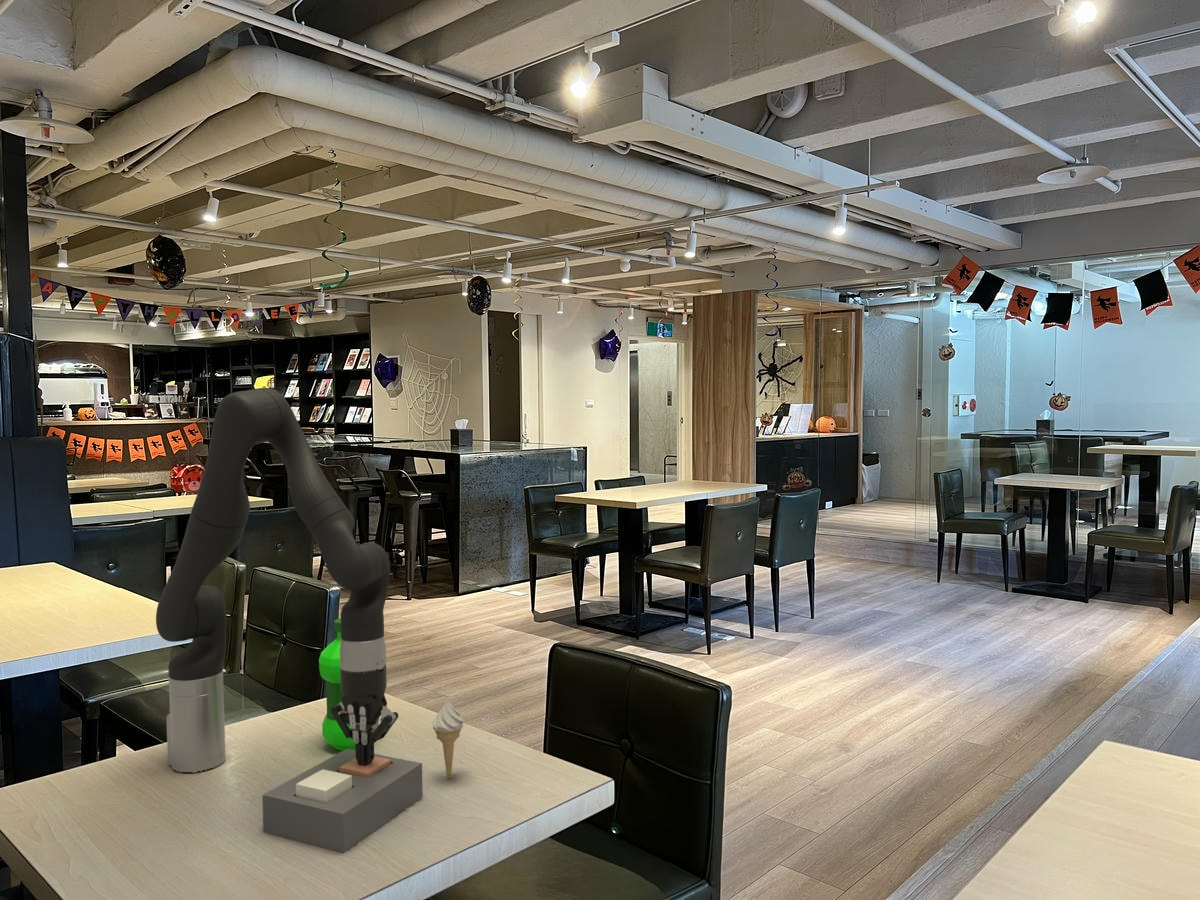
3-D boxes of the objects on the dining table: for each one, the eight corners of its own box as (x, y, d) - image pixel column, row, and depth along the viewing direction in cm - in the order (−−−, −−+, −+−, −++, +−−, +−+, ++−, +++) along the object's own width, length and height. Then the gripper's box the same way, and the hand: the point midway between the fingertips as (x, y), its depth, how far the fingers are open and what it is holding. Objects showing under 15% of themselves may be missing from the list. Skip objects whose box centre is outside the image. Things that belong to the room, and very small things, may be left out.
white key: (296, 802, 137) (295, 784, 137) (322, 787, 143) (322, 769, 143) (326, 809, 135) (325, 790, 135) (352, 793, 140) (351, 775, 140)
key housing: (263, 831, 138) (262, 794, 138) (348, 781, 156) (347, 748, 156) (343, 852, 131) (343, 814, 131) (422, 797, 150) (422, 763, 149)
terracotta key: (339, 784, 147) (339, 767, 146) (362, 770, 152) (362, 753, 152) (368, 790, 144) (368, 773, 144) (391, 776, 150) (390, 759, 149)
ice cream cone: (470, 775, 158) (469, 694, 157) (452, 788, 153) (451, 704, 152) (444, 770, 161) (443, 690, 160) (426, 782, 156) (425, 699, 155)
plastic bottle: (312, 743, 173) (309, 619, 172) (363, 731, 180) (361, 611, 178) (330, 760, 165) (327, 630, 164) (383, 747, 172) (380, 621, 170)
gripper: (316, 664, 146) (319, 765, 147) (380, 674, 141) (382, 779, 142) (346, 652, 153) (348, 749, 154) (409, 661, 148) (410, 761, 149)
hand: (365, 763), depth 148 cm, fingers closed
